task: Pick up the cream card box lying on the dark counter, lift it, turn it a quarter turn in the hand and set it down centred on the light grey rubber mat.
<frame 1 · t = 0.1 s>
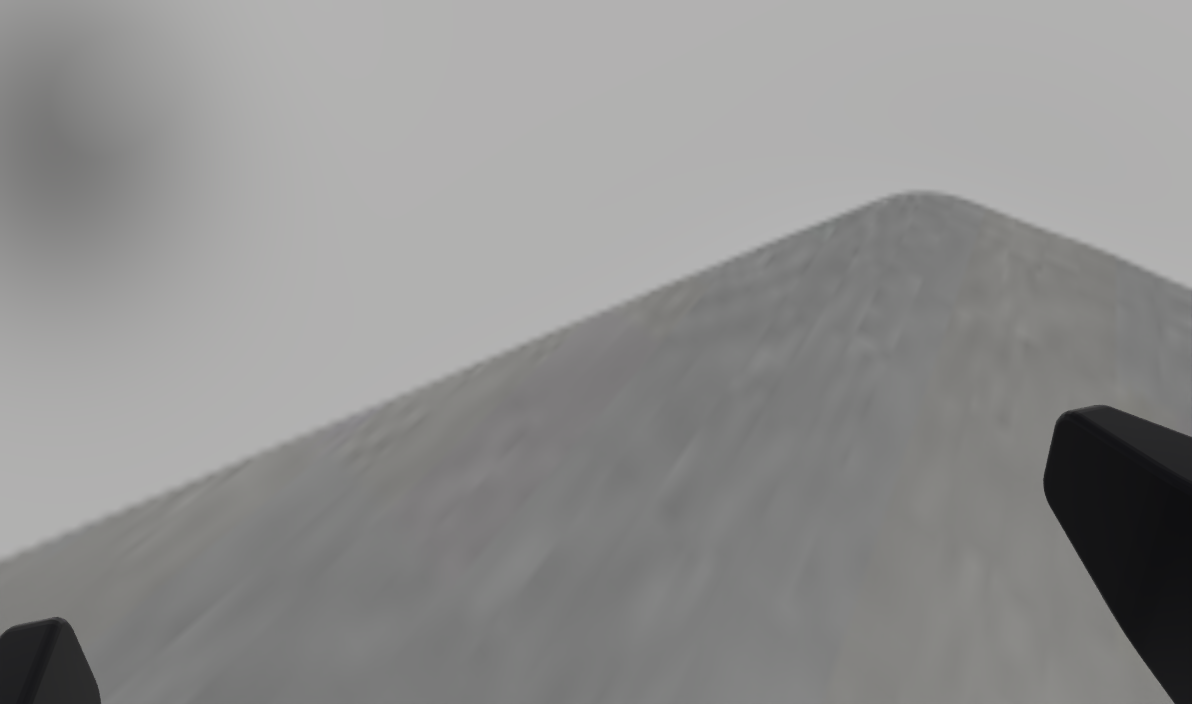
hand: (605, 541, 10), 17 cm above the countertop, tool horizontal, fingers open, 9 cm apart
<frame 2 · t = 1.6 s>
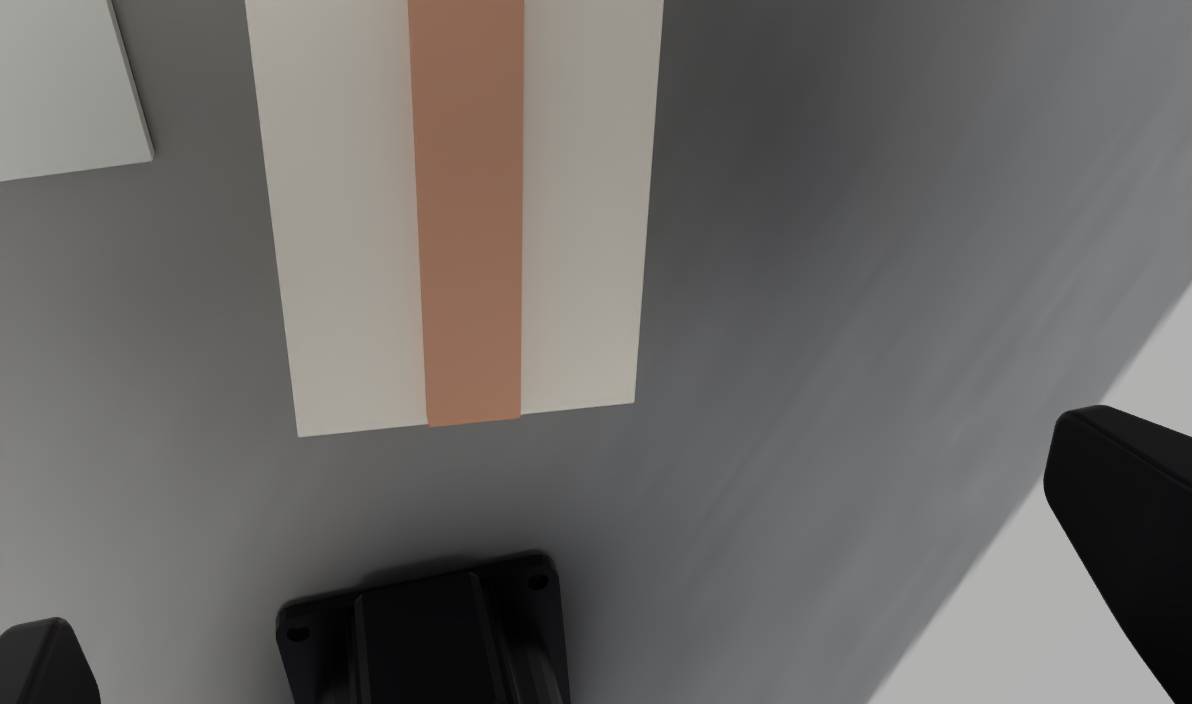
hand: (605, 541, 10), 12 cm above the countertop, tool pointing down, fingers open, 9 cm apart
card box: (439, 108, 20), on the countertop
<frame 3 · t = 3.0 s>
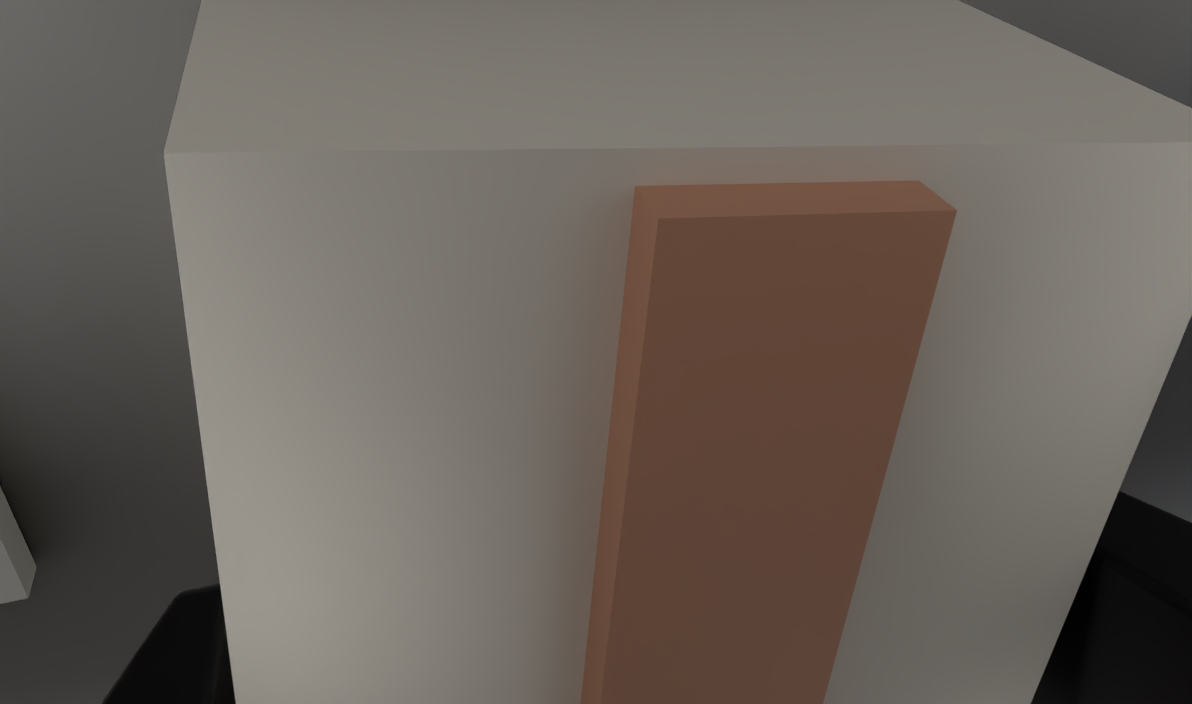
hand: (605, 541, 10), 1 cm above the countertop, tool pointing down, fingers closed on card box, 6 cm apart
card box: (571, 448, 11), on the countertop, touching gripper
when the fingers open (3 cm above the countertop, at t = 7.0 s): card box drops 1 cm, resting on mat.
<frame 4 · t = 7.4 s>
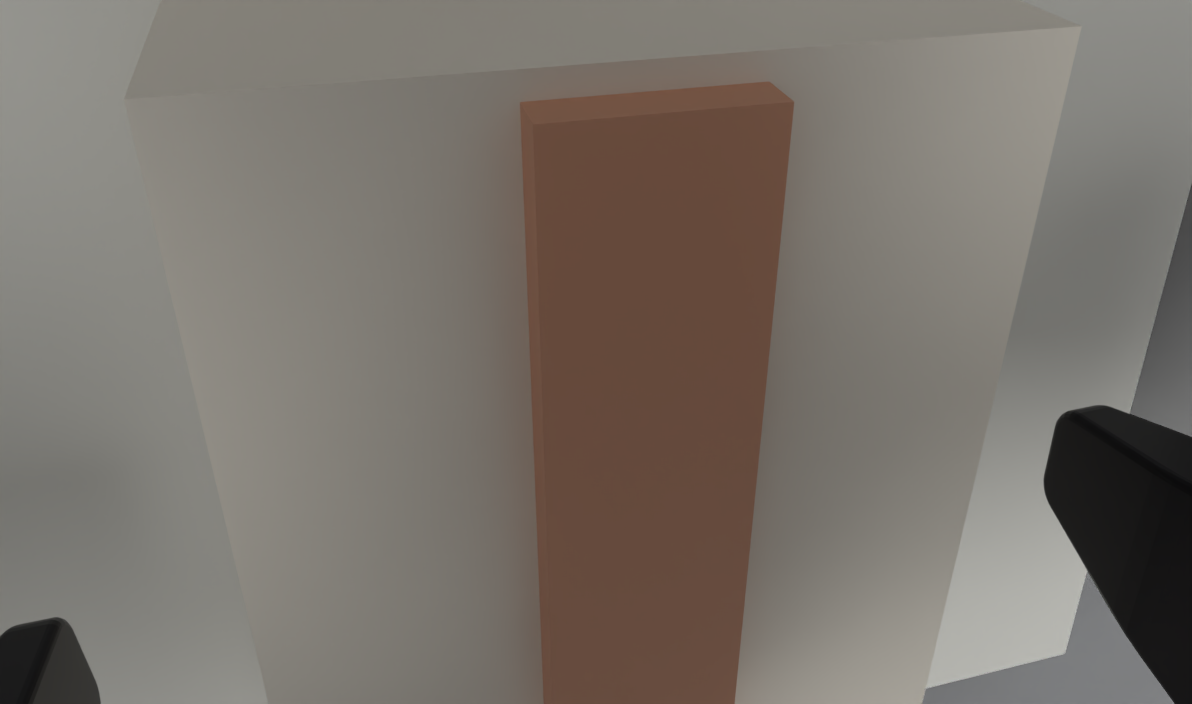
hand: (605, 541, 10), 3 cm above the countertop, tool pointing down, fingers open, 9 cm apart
card box: (545, 370, 12), resting on mat
mat: (533, 358, 12), on the countertop
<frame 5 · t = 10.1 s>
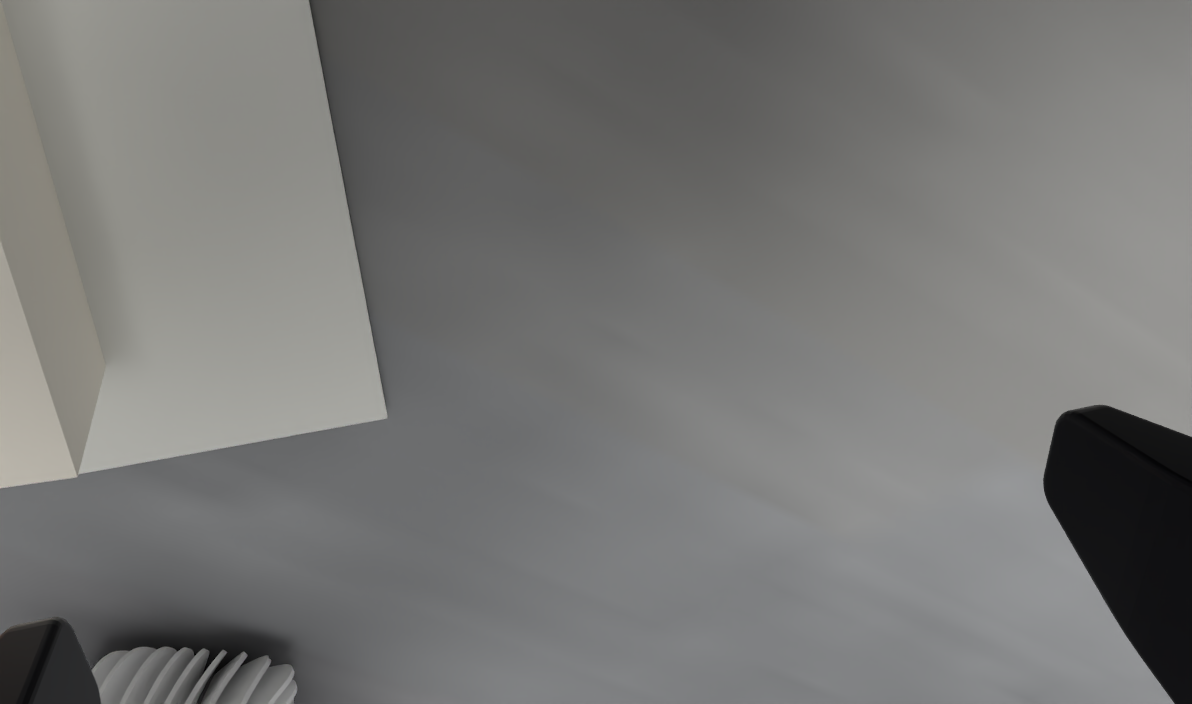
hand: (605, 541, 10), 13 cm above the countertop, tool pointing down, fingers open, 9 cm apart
shell sculpture: (195, 703, 27), on the countertop
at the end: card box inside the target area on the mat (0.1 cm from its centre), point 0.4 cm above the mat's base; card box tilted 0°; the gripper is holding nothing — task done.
